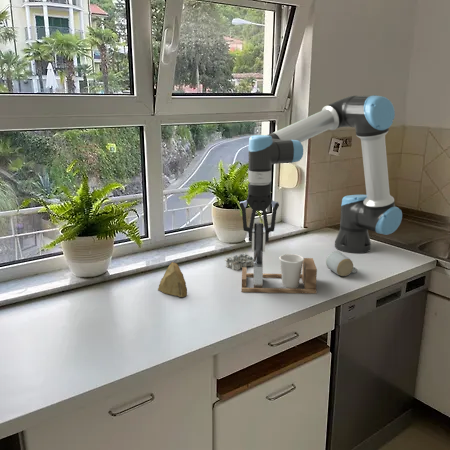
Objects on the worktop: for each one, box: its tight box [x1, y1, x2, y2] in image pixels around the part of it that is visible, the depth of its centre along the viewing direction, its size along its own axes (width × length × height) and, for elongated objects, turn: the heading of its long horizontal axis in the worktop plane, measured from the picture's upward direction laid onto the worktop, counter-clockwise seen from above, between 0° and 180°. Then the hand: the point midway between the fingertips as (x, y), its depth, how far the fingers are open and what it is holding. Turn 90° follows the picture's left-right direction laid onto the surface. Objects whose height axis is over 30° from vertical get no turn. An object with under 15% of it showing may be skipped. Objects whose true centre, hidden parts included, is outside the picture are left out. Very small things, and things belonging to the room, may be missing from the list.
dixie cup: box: [278, 253, 305, 289], centre depth 160 cm, size 8×8×10 cm
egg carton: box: [224, 252, 254, 271], centre depth 180 cm, size 11×8×4 cm
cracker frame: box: [241, 257, 318, 294], centre depth 161 cm, size 25×14×8 cm, turn 87°
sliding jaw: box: [252, 222, 264, 288], centre depth 159 cm, size 3×10×22 cm, turn 177°
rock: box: [157, 261, 188, 298], centre depth 154 cm, size 11×9×10 cm
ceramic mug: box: [325, 250, 358, 277], centre depth 171 cm, size 11×8×8 cm
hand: (258, 250), depth 159 cm, fingers closed on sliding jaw, 3 cm apart
